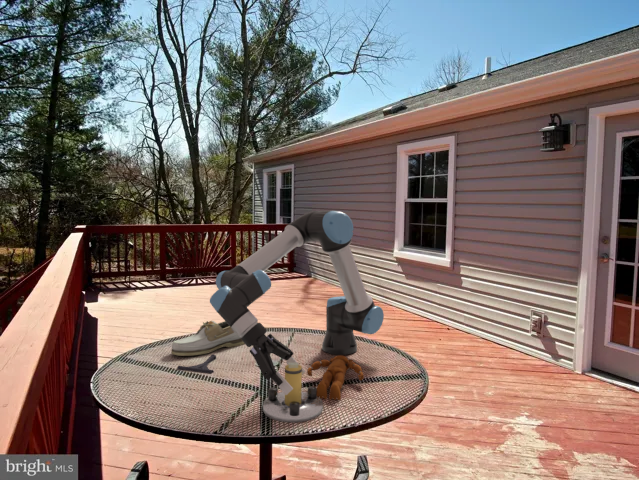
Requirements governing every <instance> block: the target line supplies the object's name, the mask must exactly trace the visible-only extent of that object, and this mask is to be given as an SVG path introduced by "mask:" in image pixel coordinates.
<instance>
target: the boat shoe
mask: <svg viewBox="0 0 639 480" xmlns="http://www.w3.org/2000/svg"><path fill="white" fill-rule="evenodd" d="M241 338H242V336H241V337H239V336H238V335H237V334H236V333H234V330H233V329H232V328H231V327H230V326H229V325H228V323H227V322H226V321H225V320H223V321H221V322H218V323H217V322H215V320H210V321H206V322H203V321H202V325H200V328H199V329H198V330H197V331H196V333H195V334H193V335H189V336H188V337H187V336H186V337H184V338H180V339H177V340H174V341H173V342H172V343H171V352H170V353H171V355H175V356H180V357H181V356H183V357H185V356H188V357H190V356H199V355H206V354H209V353H210V354H211V353H212V352H214V351H216V350H219V349H221V348H225V347H226V348H234V347H238V346H242V345H246V344H245V343H244V342H243V341H242V339H241Z"/></svg>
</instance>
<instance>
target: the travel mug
mask: <svg viewBox="0 0 639 480" xmlns="http://www.w3.org/2000/svg"><path fill="white" fill-rule="evenodd" d="M298 364H299V362H298V363H289V365H287V364H286V365H285V367H284V378H285V380H286V381H287V382H288V383H289V384H290V385H291V386H292V388H293V390H292V391H290V392H289V393H288V394H287V395H285V404H286V405H287V406H290V403H291V402H299V403H300V404H301V391H302V388H303V386H302V383H303V382H302V376H303V375H302V368H303V366H302V365H300V364H299V365H298ZM300 404H299V405H300Z"/></svg>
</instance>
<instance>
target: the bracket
mask: <svg viewBox="0 0 639 480" xmlns="http://www.w3.org/2000/svg"><path fill="white" fill-rule="evenodd" d="M215 360H217V356H216V354H211V355H210V356H209V357H208V358H207V359H206V360H205V361H204V362H202V363H199V364H195V365H190V366H189V365H188V366H185V365H183V366H182V365H178V366H177V368H176V369H177V370H179V369H180V370H181V371H188V372H194V373H203V374H212V373H214V371H215V370H213V369H210V368H209V367H208V365H209V364H211V363H213V362H214V361H215Z"/></svg>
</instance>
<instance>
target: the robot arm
mask: <svg viewBox="0 0 639 480" xmlns="http://www.w3.org/2000/svg"><path fill="white" fill-rule="evenodd" d="M354 230H355V229H354V223H353V220H352V219H351V217H350V216H349V215H348V214H347V213H345V212H342V211H338V210H330V211H328V210H327V211H320V210H319V211H315V210H313V211H309V212H307V213H305V214H304V213H303V214H302V215H301V216H299V217H297V218H296V219H294V220H293V221H291V222H290V223H288V224H287V225H286V226H284V231H282V232H281V233H279V234H278V235H277V236H275V237H274V238H273V239H271V240H270V241H269V242H267V243H266V244H265V245H263V246H262V247H261V248H259V249H258V250H257V251H255V252H254V253H252V254H251V255H250V256H248V257H247V258H246V259H244V260H243V261H241V262H240V263H239V264H237V265H236V266H235V267H233V268H232V269H230V270H223V271H221V272H219V273H218V274H217V276H216V278H215V285H216V288H217V290H215V292H214V293H213V294H212V295H211V296H210V299H209V303H210V305H211V306H212V308H213V309H214V310H215V311H216V314H217V313H218V315H219V316H220V318H222V319H223V321H226V322H227V323H228V325H229V326H230V327H231V328H232V329H233V330H234V333H236V334H237V335H238V336H239V337H241V336H242V338H241V339H242V341H243V342H244V343H245V344H244V345H245V346H246V347H248V348H251V347H252V348H251V349H250V350H249V353H250V354H251V355H252V357H253V358H254V360H255V362H256V364H257V366H258V368H259V370H260V372H261V375H262V376H263V377H264V379H266V380H267V381H269V380H270V379H271V380H272V381H273V382H274V384H275V385H277V388H279V390H280V391H281V392H284V394H285V395H287V394H288V393H289V392H290V391H292V390H293V388H292V386H291V385H290V384H289V383H288V382H287V381H286V380H285V376H283V375H282V374H281V373H280V371H276V368H275V365H274V362H273V359H272V357H271V354H272V355H275V356H277V357H278V358H281V359H283V360H284V361H285V363H286V365H289V363H298V365H300V363H299V361H297V360H296V358H294V356H293V355H294V352H293V350H291V349H290V348H289V347H288V346H286V345H285V344H283V342H281V341H279V340H278V339H277V338H276V337H275V336H273V335H272V334H271V333H269V334H268V335H266V333H267V328H266V327H265V326H264V325H263V324H262V323H261V322H258V321H259V319H258V318H257V317H256V316H255V315H254V314H253V312H251V311H250V309H249V308H248V307H249V306H251V304H253V303H254V302H256V301H257V300H258V299H259V298H261V297H262V296H263V295H265V294H266V292H268V291H269V290H270V289H271V287H272V281H271V278H270V277H269V275H268V274H267V273H266V272H265V271H267V270H268V269H269V268H271V267H272V266H273V265H274V264H276V263H277V262H278V261H280V260H281V259H282V258H283V257H285V256H286V255H287V254H289V253H290V252H291V251H293V250H294V249H295V248H297V247H298V248H300V247H302V246H303V245H305V244H306V243H310V242H316V243H317V242H318V243H319V244H320V246H321V249H322V251H323V252H324V253H327V254H328V256H329V259H330V262H331V264H332V267H333V270H334V271H335V274H336V277H337V280H338V283H339V285H340V287H341V290H342V292H343V295H341V296H334V297H329V298H328V299H327V301H326V308H325V310H326V312H325V313H326V321H325V322H326V331H325V335H324V338H323V341H322V344H321V349H322V351H323V352H324V353H326V354H331V355H335V356H338V355H343V356H345V355H346V356H347V355H351V354H355V353H356V352H357V351H358V344H357V341H356V337H355V335H354V331H355V332H358V333H362V334H364V335H366V334H367V335H374V334H376V333H378V331H380V328H381V327H382V325H383V321H384V317H385V314H384V310H383V308H382V307H381V306H378V305H375V302H374V300H373V297H372V296H371V295H370V294H367V291H366V288H365V286H364V285H365V284H364V283H363V280H362V278H361V274H360V272H359V268H358V266H357V264H356V260H355V258H354V254H353V252H352V249H351V246H350V245H351V243H352V238H353V235H354V232H353V231H354ZM305 373H307V371H306V370H305V368H303V367H302V376H303V375H304V374H305Z"/></svg>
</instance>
